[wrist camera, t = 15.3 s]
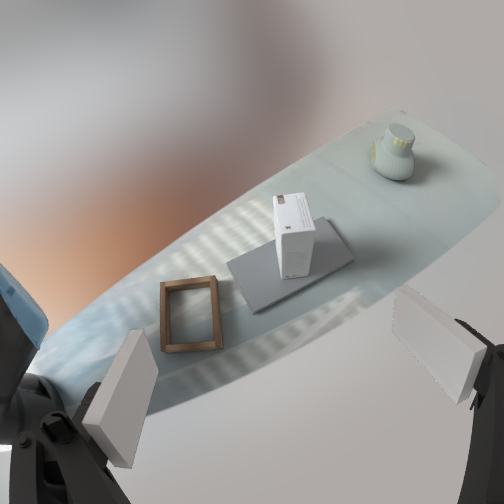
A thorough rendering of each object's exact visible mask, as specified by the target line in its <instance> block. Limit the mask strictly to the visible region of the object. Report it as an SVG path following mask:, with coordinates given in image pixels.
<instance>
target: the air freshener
mask: <svg viewBox="0 0 504 504" xmlns="http://www.w3.org/2000/svg"><path fill="white" fill-rule="evenodd" d="M414 140H415V136H414V134H413V132H412V131H411V130H410V129H409V128H407V127H405V126H403V125H401V124H390V125H388V126H387V129H386V132H385V136H384V137H380V138H377V139H375V140H374V141H373V143H372V150H371V164H372V167H373V168H374V169H375V170H376V171H377V172H378V173H379V174H381V175H382V176H384V177H386V178H389V179H392V180H404V179H407V178H409V177H411V176H412V174H413V171H414V154H413V151H412V150H411V148H412V146H413V143H414Z"/></svg>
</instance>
